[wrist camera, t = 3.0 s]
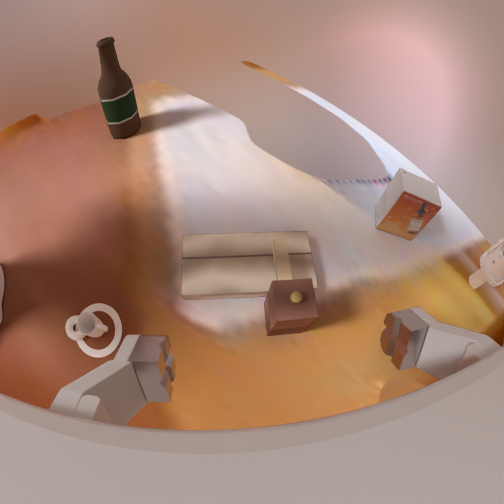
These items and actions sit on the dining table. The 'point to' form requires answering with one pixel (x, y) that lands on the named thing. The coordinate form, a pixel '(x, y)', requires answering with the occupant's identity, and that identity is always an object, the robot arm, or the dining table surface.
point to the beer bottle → (116, 93)
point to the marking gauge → (288, 297)
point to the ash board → (239, 263)
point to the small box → (407, 205)
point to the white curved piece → (86, 325)
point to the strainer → (490, 267)
